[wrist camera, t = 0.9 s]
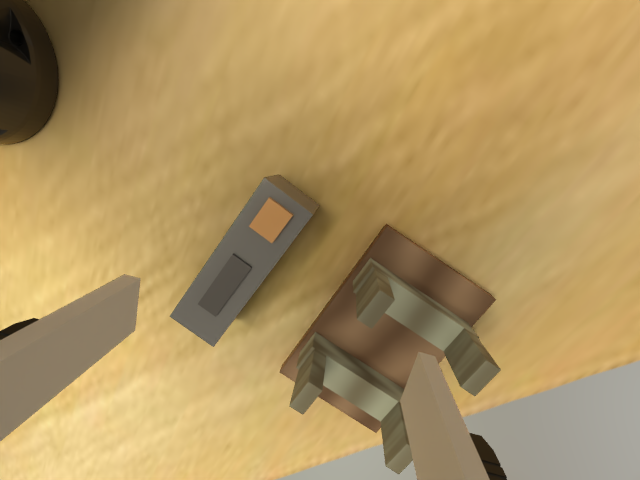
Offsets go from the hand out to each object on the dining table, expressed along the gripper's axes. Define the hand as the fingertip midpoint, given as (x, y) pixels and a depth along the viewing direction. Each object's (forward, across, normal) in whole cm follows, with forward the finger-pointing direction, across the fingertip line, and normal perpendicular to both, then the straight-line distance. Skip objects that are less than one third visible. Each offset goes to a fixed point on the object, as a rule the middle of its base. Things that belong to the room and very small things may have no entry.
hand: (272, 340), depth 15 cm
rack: (+19, +9, -8) cm, 23 cm away
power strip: (+19, -6, -3) cm, 20 cm away
